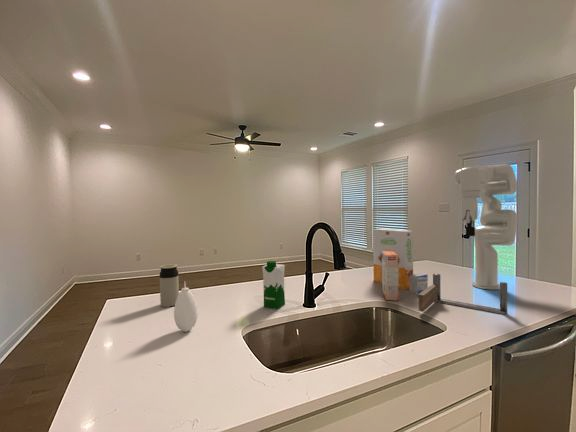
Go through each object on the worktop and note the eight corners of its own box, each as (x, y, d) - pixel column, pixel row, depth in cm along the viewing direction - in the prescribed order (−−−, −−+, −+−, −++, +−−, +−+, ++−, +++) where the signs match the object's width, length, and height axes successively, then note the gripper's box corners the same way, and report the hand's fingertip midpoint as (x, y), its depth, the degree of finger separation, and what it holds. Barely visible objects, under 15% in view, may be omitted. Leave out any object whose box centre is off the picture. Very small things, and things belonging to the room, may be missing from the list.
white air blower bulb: (184, 337, 100) (183, 284, 100) (170, 332, 104) (168, 282, 104) (202, 328, 107) (200, 279, 106) (188, 324, 111) (186, 277, 111)
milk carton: (260, 307, 128) (259, 262, 128) (270, 301, 136) (269, 258, 136) (278, 310, 125) (277, 263, 124) (287, 303, 133) (286, 259, 132)
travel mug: (182, 304, 135) (181, 265, 135) (165, 308, 130) (164, 268, 129) (174, 300, 141) (173, 263, 140) (157, 305, 135) (156, 266, 135)
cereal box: (413, 288, 153) (412, 230, 152) (404, 289, 151) (404, 231, 150) (381, 279, 173) (381, 228, 173) (373, 280, 171) (373, 229, 170)
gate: (437, 299, 130) (437, 284, 130) (423, 311, 115) (423, 295, 115) (433, 298, 131) (432, 283, 131) (418, 310, 116) (418, 294, 116)
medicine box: (417, 294, 143) (417, 276, 143) (409, 291, 147) (409, 274, 147) (428, 291, 147) (428, 274, 146) (420, 289, 151) (420, 272, 150)
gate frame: (434, 299, 135) (434, 273, 134) (508, 312, 117) (507, 282, 116) (432, 301, 132) (432, 274, 132) (506, 314, 114) (506, 284, 113)
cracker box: (399, 301, 133) (398, 255, 132) (385, 300, 134) (384, 255, 133) (394, 292, 147) (394, 250, 146) (381, 291, 148) (381, 250, 147)
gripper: (464, 195, 140) (464, 234, 141) (456, 195, 129) (457, 237, 130) (483, 194, 135) (483, 234, 136) (476, 194, 124) (477, 238, 125)
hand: (470, 235), depth 133 cm, fingers closed
